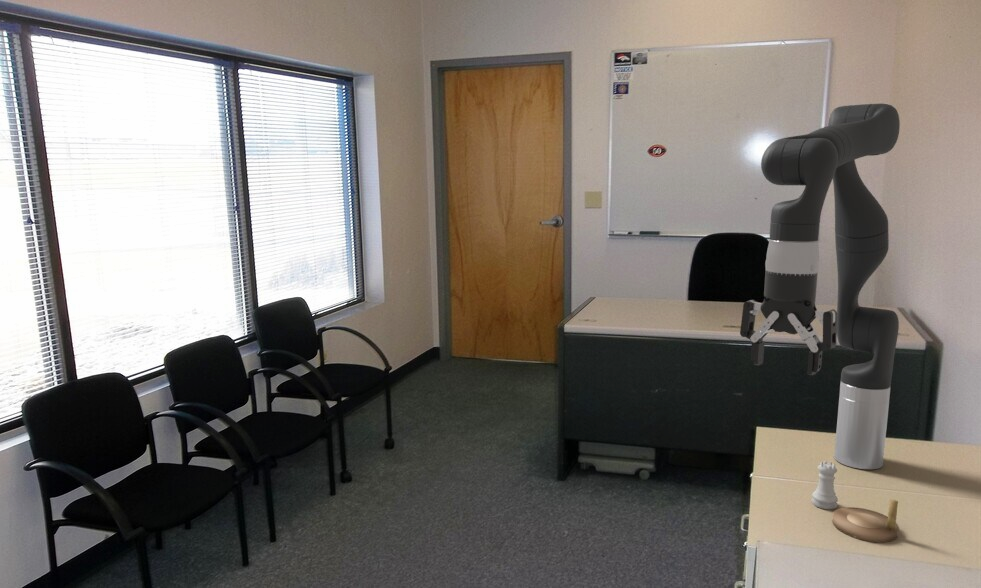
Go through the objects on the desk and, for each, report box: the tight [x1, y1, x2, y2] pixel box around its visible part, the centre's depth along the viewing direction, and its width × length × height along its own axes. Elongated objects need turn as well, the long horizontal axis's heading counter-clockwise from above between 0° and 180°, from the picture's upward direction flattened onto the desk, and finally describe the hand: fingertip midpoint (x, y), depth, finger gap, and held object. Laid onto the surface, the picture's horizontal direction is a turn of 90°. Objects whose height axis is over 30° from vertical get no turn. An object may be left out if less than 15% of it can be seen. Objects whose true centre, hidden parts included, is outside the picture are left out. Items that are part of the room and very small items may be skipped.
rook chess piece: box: [811, 460, 839, 511], centre depth 127 cm, size 4×4×8 cm
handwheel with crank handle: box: [831, 499, 900, 543], centre depth 119 cm, size 10×10×6 cm
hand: (784, 369), depth 111 cm, fingers open, 8 cm apart
